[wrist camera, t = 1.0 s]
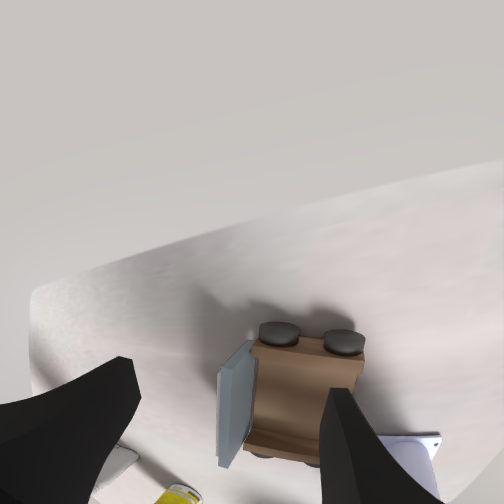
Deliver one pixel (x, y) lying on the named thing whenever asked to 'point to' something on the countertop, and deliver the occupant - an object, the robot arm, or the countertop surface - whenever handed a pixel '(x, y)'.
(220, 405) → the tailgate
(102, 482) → the tall pale column
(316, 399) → the cart bed
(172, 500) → the supplement bottle
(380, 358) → the countertop surface
